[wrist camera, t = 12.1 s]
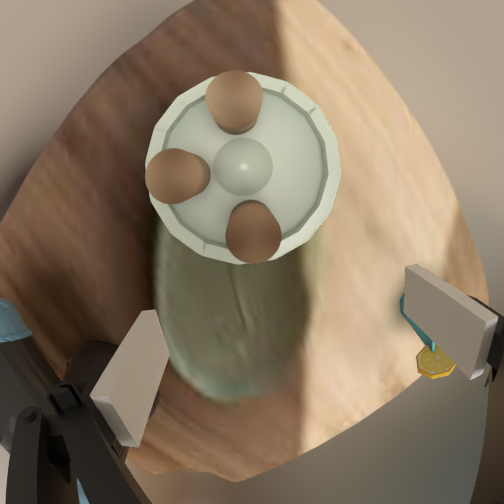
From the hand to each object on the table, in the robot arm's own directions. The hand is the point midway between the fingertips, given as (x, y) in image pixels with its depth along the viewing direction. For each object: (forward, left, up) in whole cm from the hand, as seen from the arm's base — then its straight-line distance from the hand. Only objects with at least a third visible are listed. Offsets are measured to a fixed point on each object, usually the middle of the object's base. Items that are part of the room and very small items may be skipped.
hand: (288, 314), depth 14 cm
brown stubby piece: (-1, +2, -19) cm, 19 cm away
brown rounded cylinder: (-7, +8, -19) cm, 21 cm away
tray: (-1, +8, -20) cm, 21 cm away
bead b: (-1, +13, -19) cm, 23 cm away
